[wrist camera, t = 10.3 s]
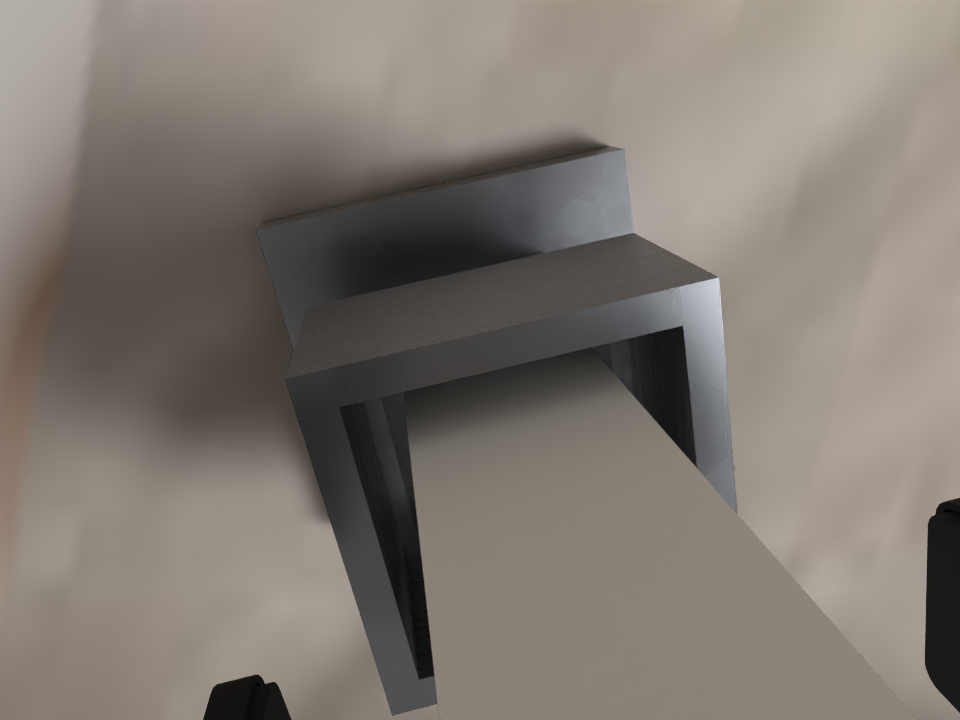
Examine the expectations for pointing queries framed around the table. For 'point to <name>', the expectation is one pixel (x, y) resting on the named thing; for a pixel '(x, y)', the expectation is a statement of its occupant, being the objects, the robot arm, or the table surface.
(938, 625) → the robot arm
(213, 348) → the table surface
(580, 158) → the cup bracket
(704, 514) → the rail post
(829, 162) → the table surface
